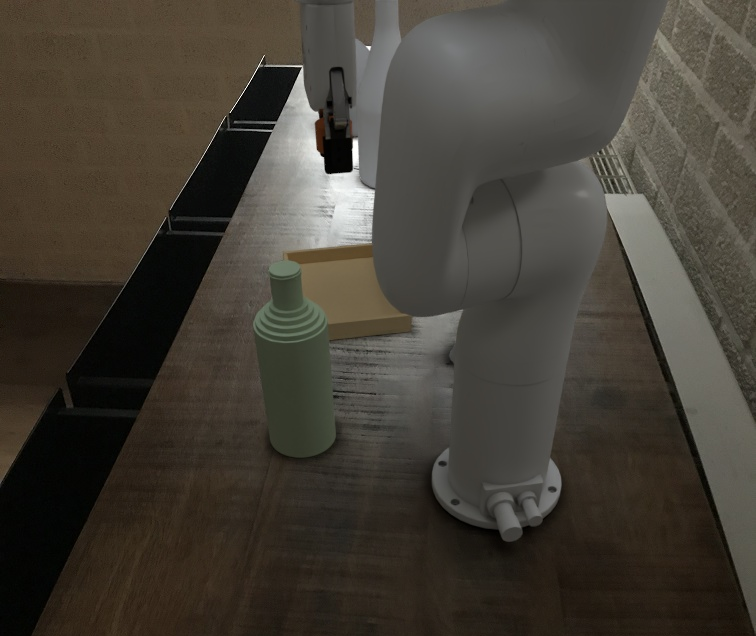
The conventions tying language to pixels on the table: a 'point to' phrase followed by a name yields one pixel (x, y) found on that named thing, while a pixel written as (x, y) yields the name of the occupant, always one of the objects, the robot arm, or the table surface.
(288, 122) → the table surface
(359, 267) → the tray
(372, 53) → the wine bottle
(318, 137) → the cap
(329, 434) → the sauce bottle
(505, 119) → the robot arm
